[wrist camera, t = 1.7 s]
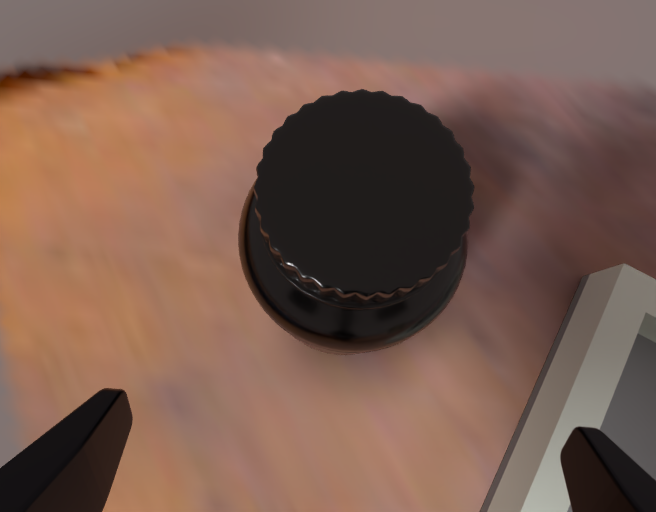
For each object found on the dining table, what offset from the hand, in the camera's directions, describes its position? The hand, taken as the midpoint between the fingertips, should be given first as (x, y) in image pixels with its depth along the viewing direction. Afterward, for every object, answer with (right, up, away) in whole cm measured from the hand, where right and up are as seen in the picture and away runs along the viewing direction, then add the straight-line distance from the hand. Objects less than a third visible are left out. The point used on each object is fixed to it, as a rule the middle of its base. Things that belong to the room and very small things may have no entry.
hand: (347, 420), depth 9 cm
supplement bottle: (0, +2, +12) cm, 13 cm away
